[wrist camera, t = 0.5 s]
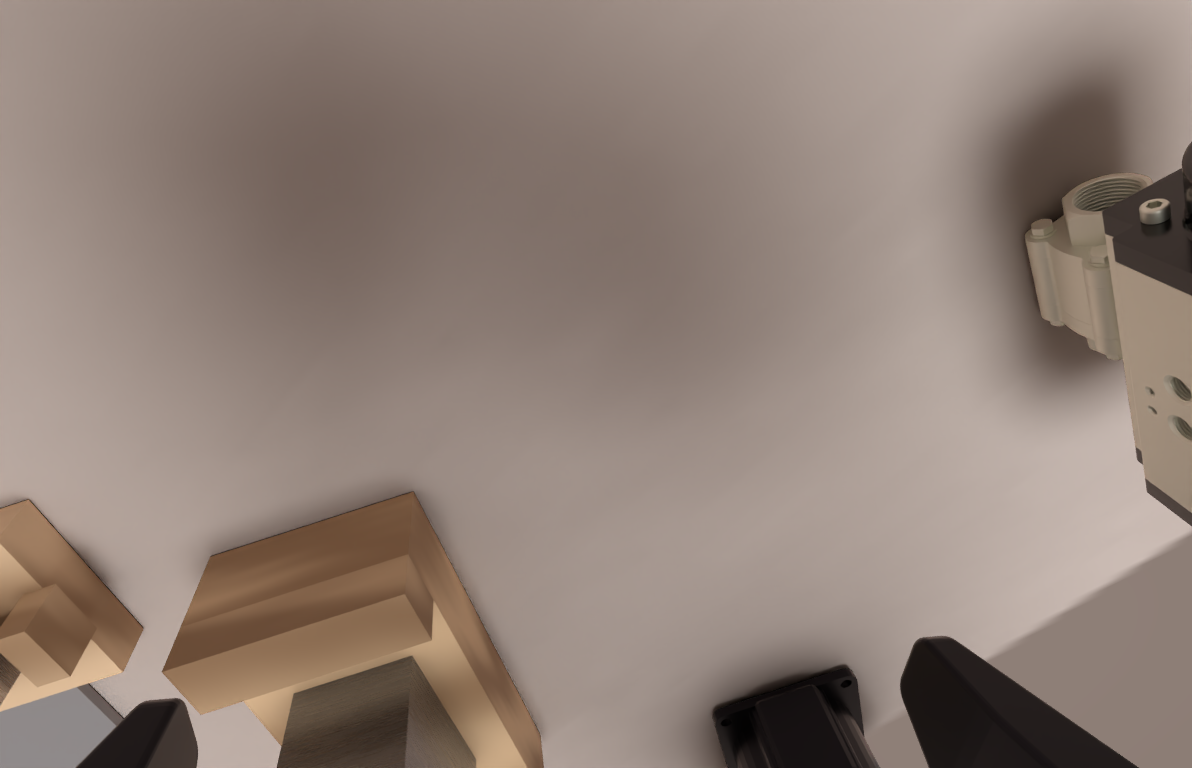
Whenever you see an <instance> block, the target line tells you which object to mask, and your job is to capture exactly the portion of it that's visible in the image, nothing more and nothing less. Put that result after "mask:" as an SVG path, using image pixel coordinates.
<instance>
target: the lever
mask: <svg viewBox="0 0 1192 768" xmlns="http://www.w3.org/2000/svg"><path fill="white" fill-rule="evenodd" d="M20 673H21V672H20V671H19V670H18V669H17V668H16V667H15V666H14V665H13V664H12V663H10V662H9V661H8V660H7V659H6V658H5V657H4V656H3V655H2V654H1V653H0V706H1V704H2V702H3V701H4V699H5V698H6V696H7V694H8V693H9V691H10V690H11V688H12V686H13V685H14V683H15V681H16V680H17V678H18V677H19V675H20Z"/></svg>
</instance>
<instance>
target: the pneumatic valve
mask: <svg viewBox="0 0 1192 768" xmlns="http://www.w3.org/2000/svg"><path fill="white" fill-rule="evenodd" d="M1061 200H1062V205H1063V211H1064V215H1063V216H1062V217H1060V218H1059V219H1057V220H1056V221H1055V222H1053V223H1052V220H1051V219H1041V220H1038V221H1035V222H1034V223H1032V224H1031V229H1030V230H1029V231H1027V233H1026V234H1025V241H1026V246H1027V250H1028V255H1029V260H1030V265H1031V269H1032V274H1033V279H1034V284H1035V289H1036V293H1037V298H1038V303H1039V308H1040V312H1041V316H1042V318H1043V319H1045V320H1048V321H1050V322H1051V325H1054V326H1064V325H1065V324H1066V325H1067V326H1068V327H1069V328H1070V329H1071V330H1073V331H1074V332H1076V333H1078V334H1079V335H1082V336H1084V337H1086V338H1087V342H1088V346H1089V349H1092V350H1094V351H1097V352H1100V353H1102V354H1105V355H1106V357H1107V359H1111V360H1121V359H1123V364H1124V371H1125V378H1126V385H1127V392H1128V398H1129V405H1130V412H1131V419H1132V426H1133V433H1134V440H1135V447H1136V454H1137V460H1138V461H1139V462H1140V463H1142V464H1143V467H1144V474H1145V481H1146V488H1147V492H1148V493H1149V494H1150V495H1152V496H1153V497H1154V498H1155V499H1157V500H1158V501H1159V502H1161V503H1162V504H1163V505H1165V506H1166V507H1167V508H1169V509H1170V510H1171V511H1172V512H1174V513H1175V514H1176V515H1178V516H1179V517H1180V518H1182V519H1183V520H1184V521H1186V522H1187V523H1188V524H1190V525H1191V526H1192V142H1191V143H1190V144H1189V146H1188V147H1187V149H1186V151H1185V153H1184V155H1183V159H1182V168H1181V169H1180V170H1178V171H1176V172H1174V173H1172V174H1170V175H1168V176H1167V177H1165V178H1163V179H1161V180H1159V181H1157V182H1155V183H1153V182H1152V180H1151V178H1150V177H1147V176H1144V175H1141V174H1136V173H1116V174H1109V175H1104V176H1100V177H1097V178H1094V179H1091V180H1088V181H1086V182H1084V183H1082V184H1080V185H1078V186H1076V187H1075V188H1073V189H1072V190H1071V191H1070V192H1069V193H1067V194H1066V195H1065V196H1064V197H1063V198H1062V199H1061Z"/></svg>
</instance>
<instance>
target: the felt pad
mask: <svg viewBox="0 0 1192 768" xmlns="http://www.w3.org/2000/svg"><path fill="white" fill-rule="evenodd" d="M122 720H123V718H122V717H121V716H120V715H119V714H118V713H117V712H116V711H115V710H114V709H113V708H112V707H111V706H110V705H109V704H108V703H107V702H106V701H105V700H104V699H103V698H102V697H101V696H100V695H99V694H98V693H97V692H96V691H95V690H94V689H93V688H92V687H91V686H90V685H89V684H85V685H82V686H79V687H75V688H72V689H69V690H66V691H63V692H60V693H57V694H54V695H51V696H48V697H44V698H41V699H38V700H35V701H32V702H29V703H26V704H23V705H20V706H16V707H13V708H10V709H7V710H4V711H1V712H0V768H76V766H77V765H78V764H79V763H80V762H81V761H82V760H83V759H84V758H85V757H86V756H87V755H88V754H89V753H90V752H91V751H92V750H93V749H94V748H95V747H96V746H97V745H98V744H99V743H100V742H101V741H102V740H103V739H104V738H105V737H106V736H107V735H108V734H109V733H110V732H111V731H112V730H113V729H114V728H115V727H116V726H117V725H118V724H119V723H120V722H121V721H122Z"/></svg>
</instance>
